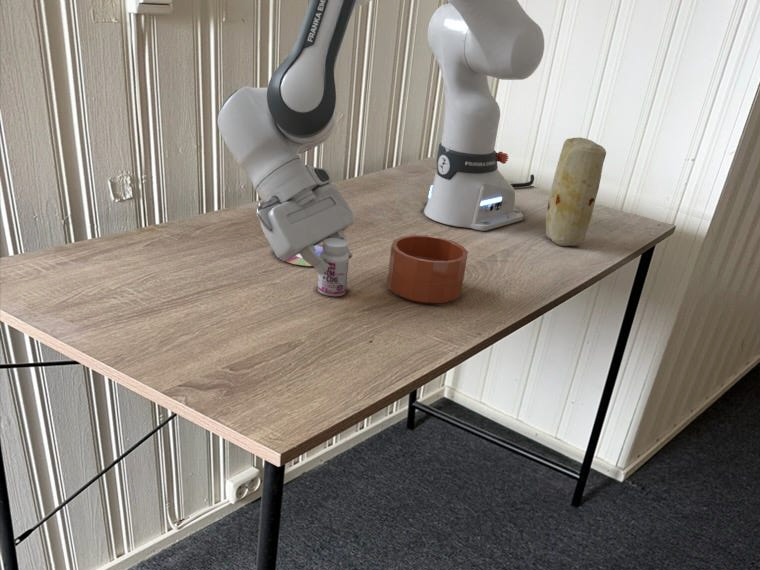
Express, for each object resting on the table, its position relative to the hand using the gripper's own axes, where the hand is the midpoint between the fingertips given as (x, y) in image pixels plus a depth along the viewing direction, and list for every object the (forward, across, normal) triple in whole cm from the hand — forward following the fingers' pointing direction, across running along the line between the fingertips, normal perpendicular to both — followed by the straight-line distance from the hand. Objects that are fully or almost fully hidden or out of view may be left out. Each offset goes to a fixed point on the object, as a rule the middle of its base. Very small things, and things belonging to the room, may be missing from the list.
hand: (337, 265), depth 136 cm
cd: (-6, +11, +12) cm, 17 cm away
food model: (+20, +55, -13) cm, 60 cm away
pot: (+11, +11, -5) cm, 17 cm away
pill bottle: (+3, 0, +4) cm, 5 cm away
